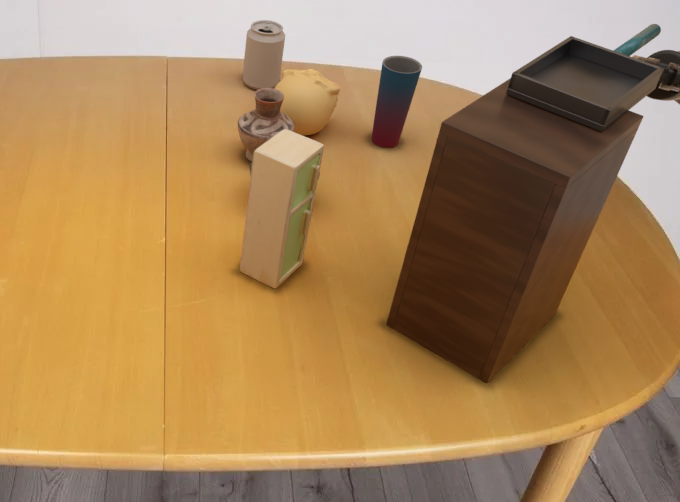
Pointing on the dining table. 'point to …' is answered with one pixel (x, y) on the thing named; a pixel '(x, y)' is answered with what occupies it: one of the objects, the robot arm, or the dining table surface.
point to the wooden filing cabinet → (502, 227)
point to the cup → (394, 99)
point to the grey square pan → (588, 79)
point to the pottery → (263, 121)
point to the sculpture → (307, 99)
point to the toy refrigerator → (280, 206)
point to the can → (263, 54)
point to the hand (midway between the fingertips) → (647, 71)
